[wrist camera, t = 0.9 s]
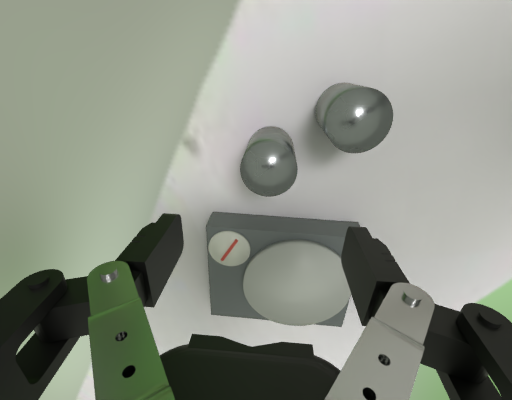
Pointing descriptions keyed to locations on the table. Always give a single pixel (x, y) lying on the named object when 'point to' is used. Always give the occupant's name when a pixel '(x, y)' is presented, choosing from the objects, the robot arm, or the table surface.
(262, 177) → the cylinder
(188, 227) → the table surface
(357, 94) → the cylinder
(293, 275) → the scale
